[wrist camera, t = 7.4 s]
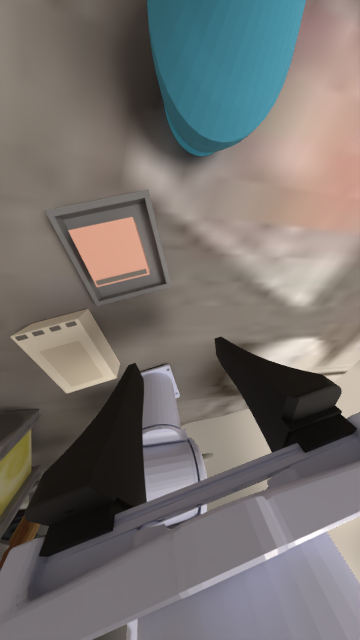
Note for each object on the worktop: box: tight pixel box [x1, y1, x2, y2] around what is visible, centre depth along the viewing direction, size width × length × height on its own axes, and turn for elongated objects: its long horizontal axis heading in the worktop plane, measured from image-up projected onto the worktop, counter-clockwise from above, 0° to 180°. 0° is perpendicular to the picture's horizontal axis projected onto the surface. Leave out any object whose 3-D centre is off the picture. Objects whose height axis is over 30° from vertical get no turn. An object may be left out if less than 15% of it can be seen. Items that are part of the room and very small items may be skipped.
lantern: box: [0, 409, 41, 571], centre depth 24 cm, size 8×17×30 cm
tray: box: [45, 190, 172, 306], centre depth 15 cm, size 9×9×2 cm
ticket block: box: [11, 309, 120, 393], centre depth 18 cm, size 10×7×3 cm
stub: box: [68, 217, 150, 287], centre depth 13 cm, size 4×5×4 cm
